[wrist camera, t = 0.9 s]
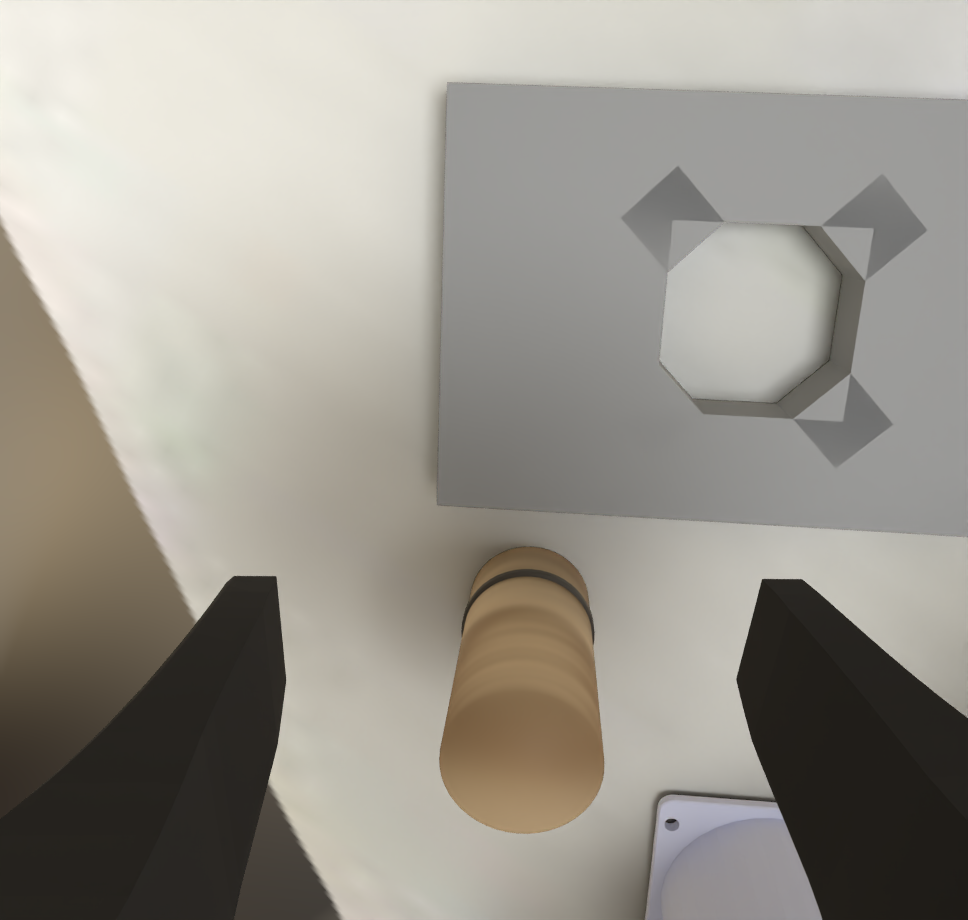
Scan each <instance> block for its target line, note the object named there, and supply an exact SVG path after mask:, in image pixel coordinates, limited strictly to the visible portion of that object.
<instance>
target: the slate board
mask: <svg viewBox="0 0 968 920" xmlns="http://www.w3.org/2000/svg"><path fill="white" fill-rule="evenodd" d="M724 222H734V223H758V224H782V225H802V226H803V227H804V228H805V229H806V231H807V232H808V233H809V234H810V236H811V237H812V238H813V239H814V240H815V242H816V243H817V244H818V245H819V247H820V248H821V249H822V250H823V252H824V253H825V254H826V255H827V256H828V258H829V259H830V260H831V261H832V263H833V264H834V265H835V266H836V267H837V269H838V270H839V271H840V272H841V274H842V282H841V288H840V295H839V301H838V308H837V315H836V321H835V328H834V334H833V341H832V347H831V354H830V361H828V362H827V363H826V364H825V365H823V366H822V367H821V368H820V369H818V370H817V371H816V372H815V373H813V374H812V375H811V376H810V377H808V378H807V379H806V380H805V381H803V382H802V383H801V384H800V385H798V386H797V387H796V388H795V389H794V390H792V391H791V392H790V393H789V394H787V395H786V396H785V397H784V398H782V399H781V400H780V401H779V402H777V403H760V402H741V401H722V400H703V399H692V398H691V397H690V395H689V394H688V393H687V392H686V391H685V390H684V389H683V387H682V386H681V385H680V384H679V383H678V382H677V381H676V379H675V378H674V377H673V376H672V375H671V374H670V373H669V372H668V370H667V369H666V368H665V367H664V366H663V365H662V364H661V362H660V361H659V356H660V346H661V336H662V325H663V315H664V304H665V294H666V284H667V273H668V272H669V271H670V270H671V269H672V268H673V267H674V266H676V265H677V264H678V263H679V262H680V261H681V260H682V259H683V258H685V257H686V256H687V255H688V254H689V253H690V252H691V251H693V250H694V249H695V248H696V247H697V246H698V245H699V244H701V243H702V242H703V241H704V240H705V239H706V238H707V237H709V236H710V235H711V234H712V233H713V232H714V231H715V230H716V229H718V228H719V227H720V226H721V225H722V224H723V223H724ZM437 505H440V506H457V507H473V508H490V509H507V510H524V511H540V512H557V513H574V514H590V515H607V516H624V517H640V518H657V519H674V520H690V521H707V522H724V523H741V524H757V525H774V526H791V527H807V528H824V529H841V530H857V531H874V532H891V533H907V534H924V535H941V536H957V537H968V100H960V99H930V98H900V97H870V96H840V95H810V94H780V93H750V92H721V91H691V90H661V89H631V88H601V87H571V86H541V85H511V84H481V83H451V82H447V107H446V148H445V189H444V230H443V271H442V312H441V353H440V394H439V435H438V476H437Z"/></svg>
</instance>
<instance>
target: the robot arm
mask: <svg viewBox="0 0 968 920" xmlns="http://www.w3.org/2000/svg"><path fill="white" fill-rule="evenodd" d="M736 680H737V684H738V688H739V693H740V697H741V701H742V705H743V709H744V713H745V717H746V720H747V724H748V728H749V731H750V735H751V739H752V742H753V745H754V747H755V750H756V752H757V755H758V757H759V760H760V762H761V765H762V767H763V770H764V772H765V775H766V777H767V780H768V782H769V785H770V787H771V790H772V792H773V795H774V797H775V800H776V802H764V801H751V800H738V799H725V798H712V797H699V796H686V795H667V796H665V797H663V798H662V799H661V800H660V801H659V803H658V808H657V817H656V826H655V835H654V844H653V853H652V862H651V871H650V879H649V888H648V897H647V906H646V915H645V920H968V718H967V717H965V716H964V715H963V714H962V713H960V712H959V711H958V710H956V709H955V708H954V707H952V706H951V705H950V704H949V703H947V702H946V701H945V700H943V699H942V698H941V697H939V696H938V695H937V694H936V693H934V692H933V691H932V690H931V689H929V688H928V687H927V686H926V685H925V684H923V683H922V682H921V681H920V680H918V679H917V678H916V677H915V676H913V675H912V674H911V673H910V672H909V671H907V670H906V669H905V668H904V667H903V666H902V665H900V664H899V663H898V662H897V661H896V660H894V659H893V658H892V657H891V656H890V655H889V654H887V653H886V652H885V651H884V650H883V649H882V648H880V647H879V646H878V645H877V644H876V643H875V642H874V641H872V640H871V639H870V638H869V637H868V636H867V635H866V634H864V633H863V632H862V631H861V630H860V629H859V628H858V627H857V626H855V625H854V624H853V623H852V622H851V621H850V620H849V619H848V618H846V617H845V616H844V615H843V614H842V613H841V612H840V611H839V610H837V609H836V608H835V607H834V606H833V605H832V604H831V603H829V602H828V601H827V600H826V599H825V598H824V597H823V596H821V595H820V594H819V593H818V592H817V591H816V590H814V589H813V588H812V587H811V586H810V585H808V584H807V583H806V582H805V581H803V580H802V579H762V582H761V586H760V590H759V594H758V598H757V602H756V605H755V609H754V613H753V617H752V621H751V625H750V629H749V632H748V636H747V640H746V644H745V648H744V652H743V656H742V659H741V663H740V667H739V671H738V675H737V679H736ZM285 685H286V673H285V663H284V652H283V642H282V631H281V621H280V610H279V599H278V589H277V578H276V576H234V577H232V578H231V579H230V580H229V581H228V582H227V583H226V584H225V585H224V587H223V588H222V590H221V591H220V592H219V594H218V595H217V596H216V598H215V599H214V601H213V602H212V603H211V605H210V606H209V607H208V609H207V610H206V611H205V613H204V614H203V615H202V617H201V618H200V619H199V620H198V622H197V623H196V624H195V626H194V627H193V628H192V629H191V631H190V632H189V633H188V634H187V636H186V637H185V638H184V639H183V641H182V642H181V643H180V645H179V646H178V647H177V648H176V649H175V650H174V651H173V653H172V654H171V655H170V656H169V658H168V659H167V660H166V661H165V662H164V663H163V665H162V666H161V667H160V668H159V669H158V670H157V672H156V673H155V674H154V675H153V676H152V677H151V679H150V680H149V681H148V682H147V683H146V684H145V685H144V686H143V688H142V689H141V690H140V691H139V692H138V693H137V694H136V695H135V696H134V697H133V698H132V699H131V700H130V701H129V702H128V703H127V705H126V706H125V707H124V708H123V709H122V710H121V711H120V712H119V713H118V714H117V715H116V716H115V717H114V718H113V719H112V720H111V722H110V723H109V724H108V725H107V726H106V727H105V728H104V729H103V730H102V731H101V732H99V733H98V734H97V735H96V737H94V738H93V739H92V740H91V741H90V742H89V743H88V744H87V745H86V746H85V747H84V748H83V749H82V750H81V751H80V752H79V753H78V754H76V755H75V756H74V757H73V758H72V759H71V760H70V761H69V762H68V763H66V764H65V765H64V766H63V767H62V768H61V769H60V770H59V771H58V772H57V773H55V774H54V775H53V776H52V777H51V778H50V779H48V780H47V781H46V782H45V783H44V784H42V785H41V786H40V787H39V788H38V789H37V790H35V791H34V792H33V793H32V794H30V795H29V796H28V797H27V798H26V799H24V800H23V801H22V802H21V803H20V804H18V805H17V806H16V807H15V808H13V809H12V810H11V811H10V812H8V813H7V814H6V815H5V816H3V817H2V818H1V819H0V920H234V916H235V912H236V907H237V902H238V898H239V893H240V888H241V885H242V881H243V877H244V873H245V869H246V865H247V861H248V858H249V853H250V850H251V846H252V842H253V838H254V834H255V830H256V827H257V823H258V819H259V815H260V811H261V807H262V804H263V800H264V796H265V792H266V788H267V784H268V780H269V776H270V772H271V768H272V765H273V761H274V757H275V752H276V748H277V744H278V737H279V730H280V723H281V716H282V709H283V701H284V693H285ZM672 818H673V819H676V820H677V821H676V822H674V823H670V824H669V823H666V822H665V821H666V820H668V819H672Z"/></svg>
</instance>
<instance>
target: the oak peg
mask: <svg viewBox="0 0 968 920" xmlns="http://www.w3.org/2000/svg"><path fill="white" fill-rule="evenodd" d="M593 644H594V625H593V618H592V614H591V611H590V609H589V599H588V592H587V588H586V585H585V582H584V580H583V578H582V576H581V575H580V573H579V571H578V570H577V569H576V568H575V567H574V566H573V565H572V564H571V563H570V562H569V561H568V560H567V559H565V558H564V557H562V556H561V555H559V554H557V553H555V552H552V551H550V550H547V549H543V548H537V547H520V548H514V549H510V550H507V551H505V552H502V553H500V554H498V555H496V556H495V557H493V558H492V559H491V560H489V561H488V562H487V563H486V564H485V565H484V566H483V567H482V569H481V570H480V571H479V573H478V574H477V576H476V578H475V580H474V583H473V586H472V590H471V594H470V600H469V602H468V605H467V607H466V610H465V613H464V617H463V622H462V641H461V646H460V651H459V656H458V661H457V666H456V671H455V676H454V681H453V687H452V692H451V697H450V702H449V707H448V712H447V717H446V722H445V728H444V733H443V738H442V743H441V748H440V757H439V762H440V771H441V776H442V779H443V782H444V785H445V787H446V789H447V791H448V793H449V794H450V796H451V797H452V799H453V800H454V801H455V803H456V804H457V805H458V806H459V807H460V808H461V809H462V810H463V811H464V812H466V813H467V814H468V815H469V816H471V817H472V818H474V819H475V820H477V821H478V822H480V823H482V824H484V825H486V826H489V827H492V828H494V829H497V830H501V831H505V832H511V833H524V834H529V833H539V832H544V831H549V830H552V829H555V828H558V827H560V826H563V825H565V824H567V823H569V822H570V821H572V820H573V819H575V818H576V817H578V816H579V815H580V814H581V813H583V812H584V811H585V810H586V809H587V808H588V806H589V805H590V804H591V803H592V801H593V800H594V798H595V797H596V795H597V793H598V791H599V789H600V786H601V783H602V780H603V774H604V754H603V743H602V733H601V723H600V712H599V702H598V692H597V681H596V671H595V661H594V651H593Z"/></svg>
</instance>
